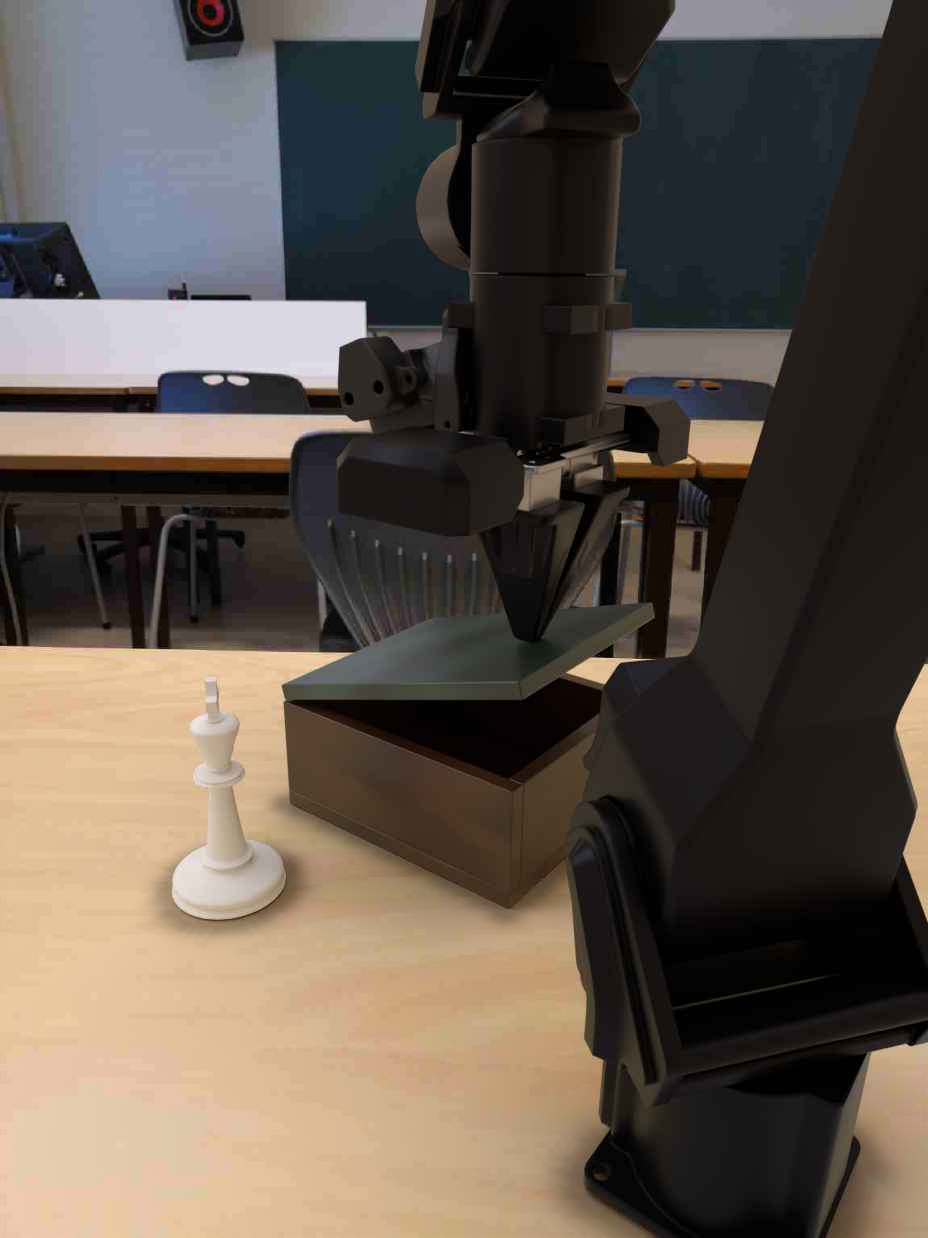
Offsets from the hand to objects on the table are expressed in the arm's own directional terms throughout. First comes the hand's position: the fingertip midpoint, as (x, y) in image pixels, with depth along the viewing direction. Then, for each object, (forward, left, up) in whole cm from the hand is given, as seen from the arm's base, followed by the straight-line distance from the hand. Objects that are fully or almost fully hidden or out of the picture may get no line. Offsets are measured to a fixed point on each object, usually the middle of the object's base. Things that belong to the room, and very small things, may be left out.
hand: (527, 638), depth 43 cm
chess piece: (+8, +12, -10) cm, 17 cm away
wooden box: (+4, 0, -10) cm, 11 cm away
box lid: (+3, 0, -2) cm, 4 cm away
